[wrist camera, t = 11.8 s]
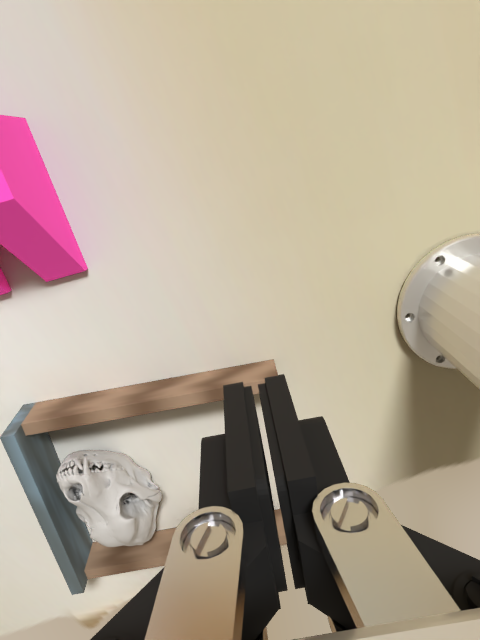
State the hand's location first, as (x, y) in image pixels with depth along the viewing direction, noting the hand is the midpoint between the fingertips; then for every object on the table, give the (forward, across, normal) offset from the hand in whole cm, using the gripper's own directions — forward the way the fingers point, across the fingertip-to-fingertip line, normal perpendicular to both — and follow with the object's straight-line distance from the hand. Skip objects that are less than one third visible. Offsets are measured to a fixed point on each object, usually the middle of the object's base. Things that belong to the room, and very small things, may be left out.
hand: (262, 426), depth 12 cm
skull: (+27, +15, +22) cm, 38 cm away
